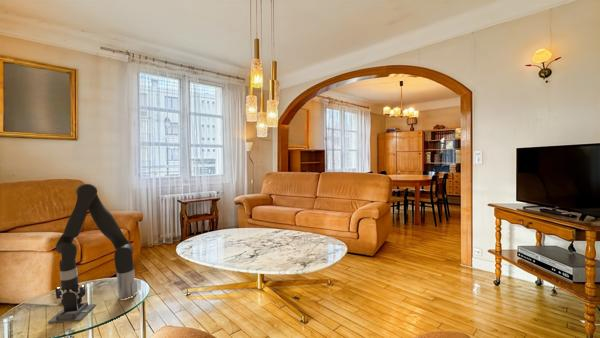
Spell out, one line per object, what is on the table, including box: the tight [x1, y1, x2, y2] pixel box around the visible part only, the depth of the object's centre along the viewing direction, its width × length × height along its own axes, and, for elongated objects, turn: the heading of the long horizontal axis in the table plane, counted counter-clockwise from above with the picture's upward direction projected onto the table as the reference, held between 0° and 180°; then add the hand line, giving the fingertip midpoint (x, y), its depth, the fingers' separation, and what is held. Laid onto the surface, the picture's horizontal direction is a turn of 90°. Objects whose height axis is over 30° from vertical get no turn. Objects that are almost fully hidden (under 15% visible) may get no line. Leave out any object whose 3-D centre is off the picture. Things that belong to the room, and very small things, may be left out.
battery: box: [62, 291, 79, 312], centre depth 157 cm, size 7×4×11 cm, turn 97°
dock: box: [47, 301, 97, 324], centre depth 158 cm, size 16×14×3 cm
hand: (72, 304), depth 158 cm, fingers closed on battery, 7 cm apart
